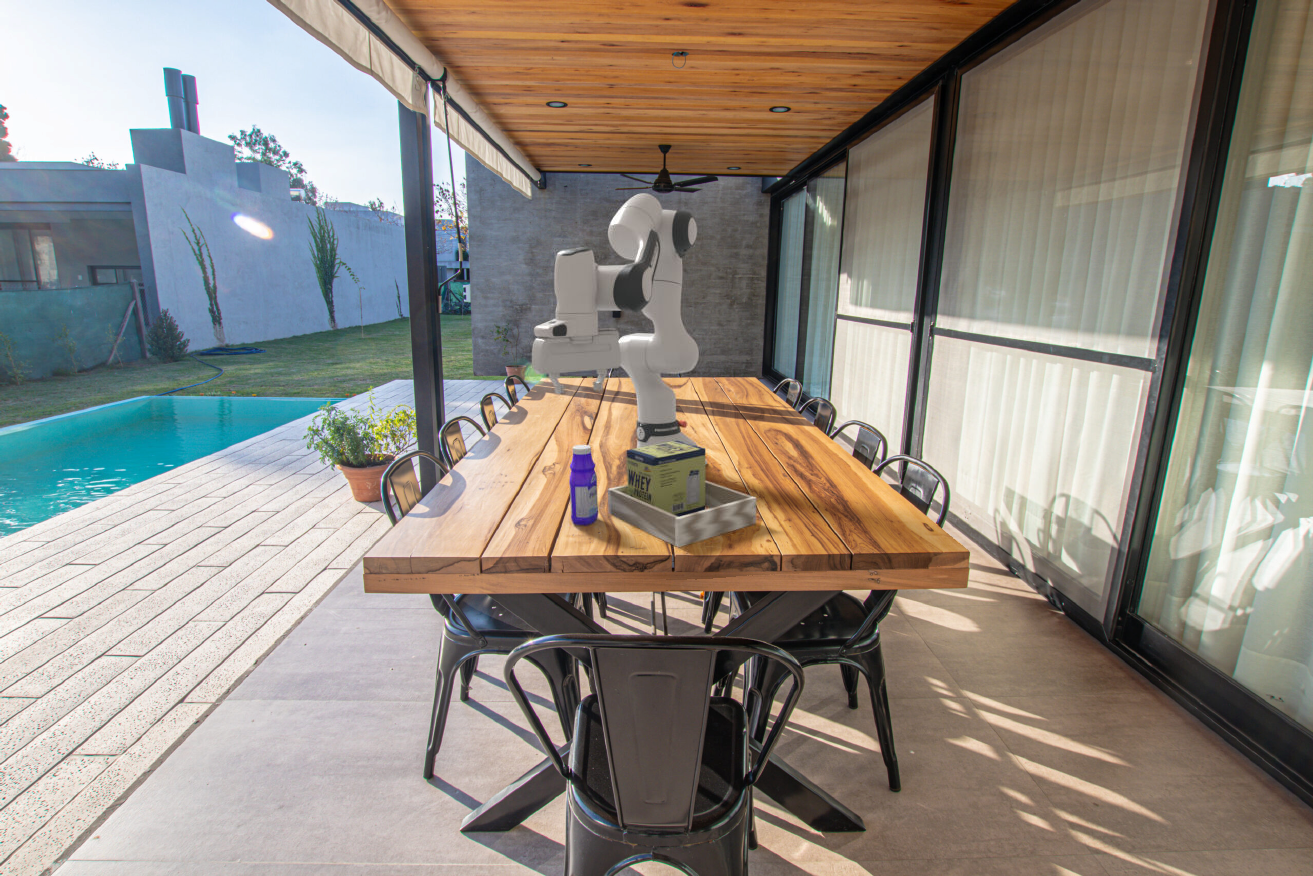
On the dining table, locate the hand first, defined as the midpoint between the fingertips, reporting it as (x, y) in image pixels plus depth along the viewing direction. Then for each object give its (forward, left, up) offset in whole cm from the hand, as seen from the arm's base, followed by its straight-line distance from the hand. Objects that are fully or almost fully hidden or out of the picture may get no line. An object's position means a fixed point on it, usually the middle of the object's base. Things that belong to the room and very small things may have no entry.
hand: (579, 391), depth 138 cm
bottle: (0, 0, -30) cm, 30 cm away
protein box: (-18, +7, -30) cm, 36 cm away
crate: (-18, +12, -30) cm, 37 cm away
